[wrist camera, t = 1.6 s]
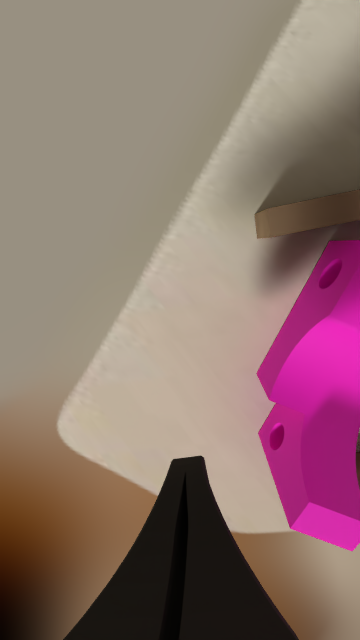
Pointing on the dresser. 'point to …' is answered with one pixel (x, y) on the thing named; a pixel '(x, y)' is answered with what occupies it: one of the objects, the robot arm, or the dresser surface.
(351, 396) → the toy block
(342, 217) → the pair of brown pieces
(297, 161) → the dresser surface
